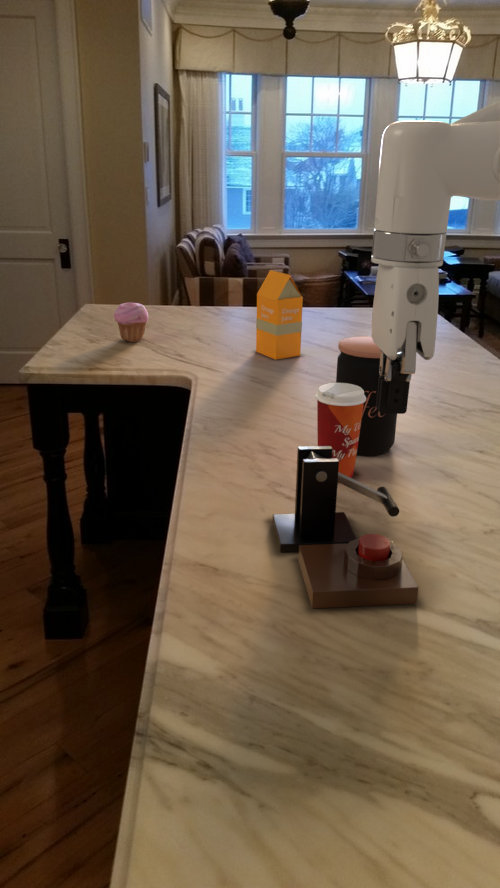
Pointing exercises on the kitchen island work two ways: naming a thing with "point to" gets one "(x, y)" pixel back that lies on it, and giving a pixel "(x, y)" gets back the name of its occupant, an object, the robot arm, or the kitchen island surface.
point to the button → (374, 547)
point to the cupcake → (131, 321)
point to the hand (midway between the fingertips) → (390, 411)
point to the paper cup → (340, 421)
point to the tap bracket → (314, 505)
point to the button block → (355, 577)
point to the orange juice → (279, 317)
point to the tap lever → (366, 490)
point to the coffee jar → (366, 393)
